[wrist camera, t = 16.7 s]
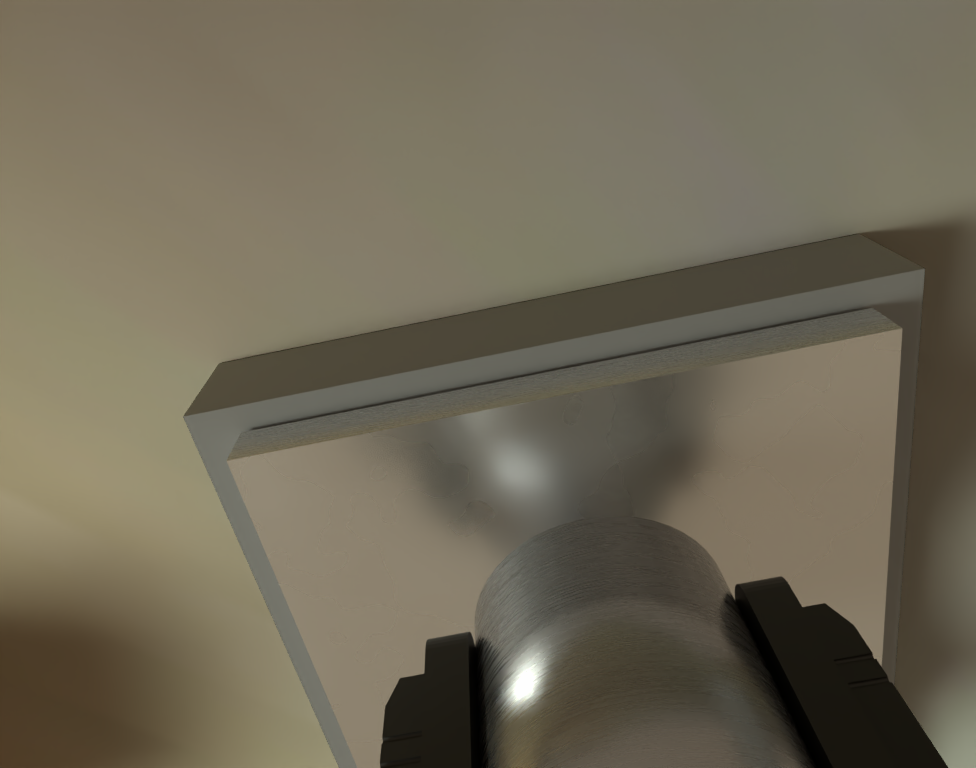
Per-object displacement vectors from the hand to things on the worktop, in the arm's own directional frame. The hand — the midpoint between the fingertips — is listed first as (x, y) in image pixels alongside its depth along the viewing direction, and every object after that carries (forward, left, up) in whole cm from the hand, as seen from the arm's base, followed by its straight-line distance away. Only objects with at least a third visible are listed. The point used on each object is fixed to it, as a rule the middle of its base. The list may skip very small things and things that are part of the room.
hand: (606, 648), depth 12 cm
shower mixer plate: (+4, 0, -3) cm, 5 cm away
